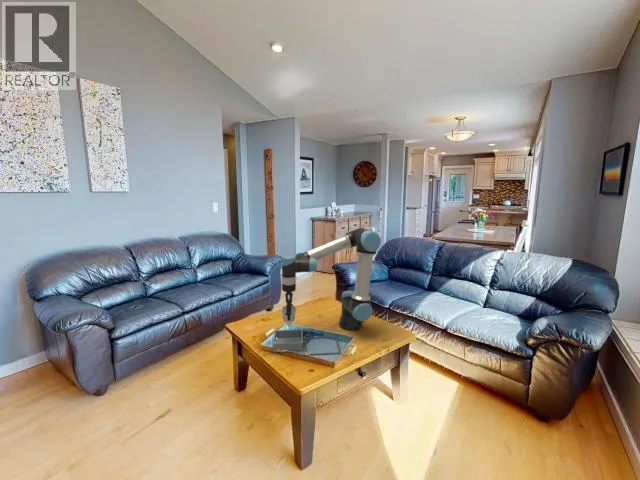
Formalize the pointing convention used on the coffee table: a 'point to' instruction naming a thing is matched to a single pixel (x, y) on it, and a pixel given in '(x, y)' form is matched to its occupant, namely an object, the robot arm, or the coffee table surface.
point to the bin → (288, 340)
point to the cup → (284, 311)
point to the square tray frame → (321, 353)
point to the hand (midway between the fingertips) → (289, 321)
